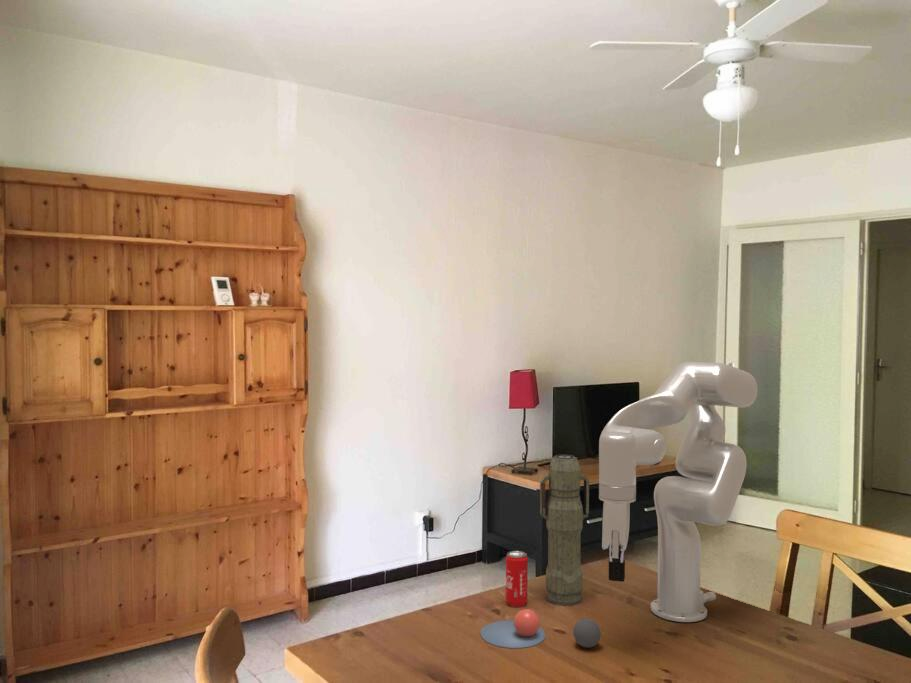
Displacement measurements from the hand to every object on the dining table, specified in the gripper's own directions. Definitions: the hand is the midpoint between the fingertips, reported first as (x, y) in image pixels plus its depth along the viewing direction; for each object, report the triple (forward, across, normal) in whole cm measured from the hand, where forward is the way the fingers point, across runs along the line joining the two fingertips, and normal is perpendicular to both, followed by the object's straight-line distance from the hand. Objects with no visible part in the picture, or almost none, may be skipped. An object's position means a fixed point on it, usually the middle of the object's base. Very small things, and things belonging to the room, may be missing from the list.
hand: (616, 579), depth 153 cm
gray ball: (+11, +2, -6) cm, 13 cm away
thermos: (+14, -24, -14) cm, 31 cm away
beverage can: (+14, -17, -25) cm, 33 cm away
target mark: (+14, 0, -22) cm, 26 cm away
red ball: (+11, 0, -19) cm, 22 cm away
